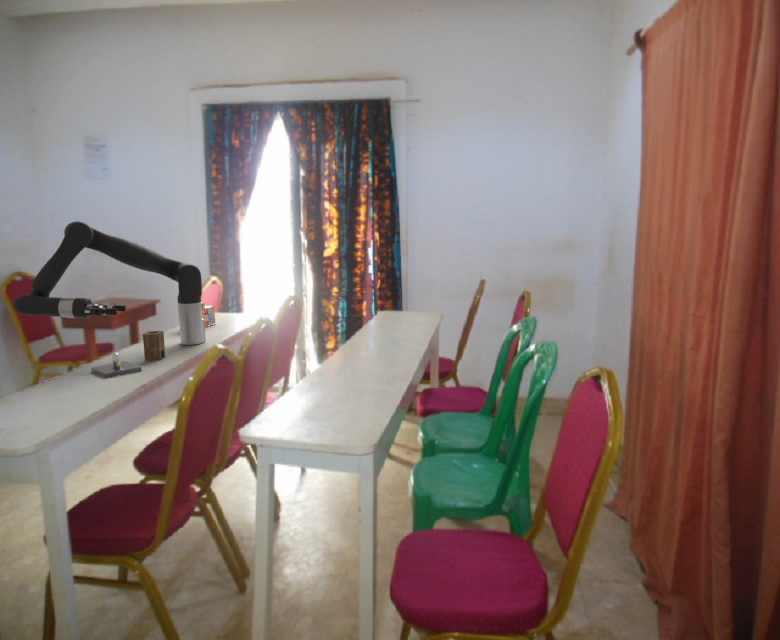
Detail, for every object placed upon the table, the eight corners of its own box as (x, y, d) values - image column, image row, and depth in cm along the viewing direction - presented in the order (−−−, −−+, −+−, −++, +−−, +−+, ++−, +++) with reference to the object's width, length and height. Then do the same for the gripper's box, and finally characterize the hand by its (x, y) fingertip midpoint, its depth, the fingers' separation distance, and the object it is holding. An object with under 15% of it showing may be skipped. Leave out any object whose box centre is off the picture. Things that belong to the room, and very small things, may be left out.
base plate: (91, 371, 203) (89, 353, 202) (126, 365, 211) (124, 347, 210) (105, 378, 195) (103, 359, 194) (141, 371, 203) (139, 352, 202)
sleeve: (144, 360, 218) (142, 334, 216) (150, 356, 224) (148, 331, 222) (160, 360, 218) (158, 333, 217) (165, 356, 224) (163, 330, 222)
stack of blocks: (203, 324, 290) (202, 299, 288) (215, 324, 289) (214, 299, 287) (180, 332, 270) (178, 306, 267) (193, 333, 268) (191, 306, 266)
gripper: (66, 300, 208) (114, 302, 209) (83, 295, 222) (128, 297, 223) (66, 321, 209) (114, 323, 210) (84, 315, 223) (128, 317, 224)
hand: (121, 310), depth 217 cm, fingers open, 8 cm apart
